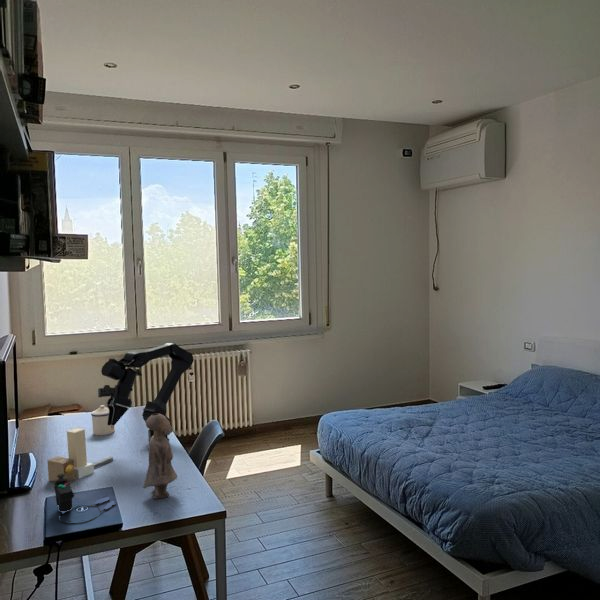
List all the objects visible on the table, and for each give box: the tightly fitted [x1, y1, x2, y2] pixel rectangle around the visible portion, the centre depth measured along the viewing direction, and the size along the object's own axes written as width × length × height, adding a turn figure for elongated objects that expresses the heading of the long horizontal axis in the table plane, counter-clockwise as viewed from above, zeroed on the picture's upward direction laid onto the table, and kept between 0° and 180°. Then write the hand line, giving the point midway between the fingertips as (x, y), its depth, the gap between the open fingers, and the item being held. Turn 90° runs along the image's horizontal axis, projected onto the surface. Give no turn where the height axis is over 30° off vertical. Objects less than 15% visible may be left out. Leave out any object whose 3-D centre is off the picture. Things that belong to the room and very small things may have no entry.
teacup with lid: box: [91, 404, 115, 436], centre depth 236 cm, size 12×9×12 cm
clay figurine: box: [142, 413, 178, 499], centre depth 167 cm, size 13×10×25 cm
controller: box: [52, 474, 75, 511], centre depth 158 cm, size 4×12×10 cm, turn 32°
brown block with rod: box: [47, 455, 114, 483], centre depth 190 cm, size 22×8×7 cm, turn 150°
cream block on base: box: [66, 427, 95, 479], centre depth 188 cm, size 6×8×15 cm
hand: (110, 425), depth 202 cm, fingers open, 9 cm apart
